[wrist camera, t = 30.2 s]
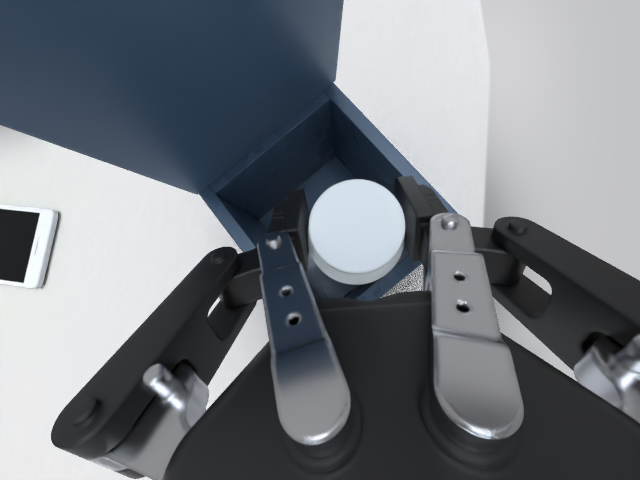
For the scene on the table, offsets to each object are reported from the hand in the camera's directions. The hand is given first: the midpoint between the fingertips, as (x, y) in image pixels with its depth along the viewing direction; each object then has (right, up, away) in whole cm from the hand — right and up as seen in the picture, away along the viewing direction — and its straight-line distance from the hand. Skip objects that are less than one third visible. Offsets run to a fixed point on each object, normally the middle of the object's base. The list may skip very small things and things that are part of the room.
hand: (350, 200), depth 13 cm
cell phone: (-36, -2, +14) cm, 39 cm away
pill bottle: (+1, -2, +4) cm, 5 cm away
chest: (0, -1, +11) cm, 11 cm away
